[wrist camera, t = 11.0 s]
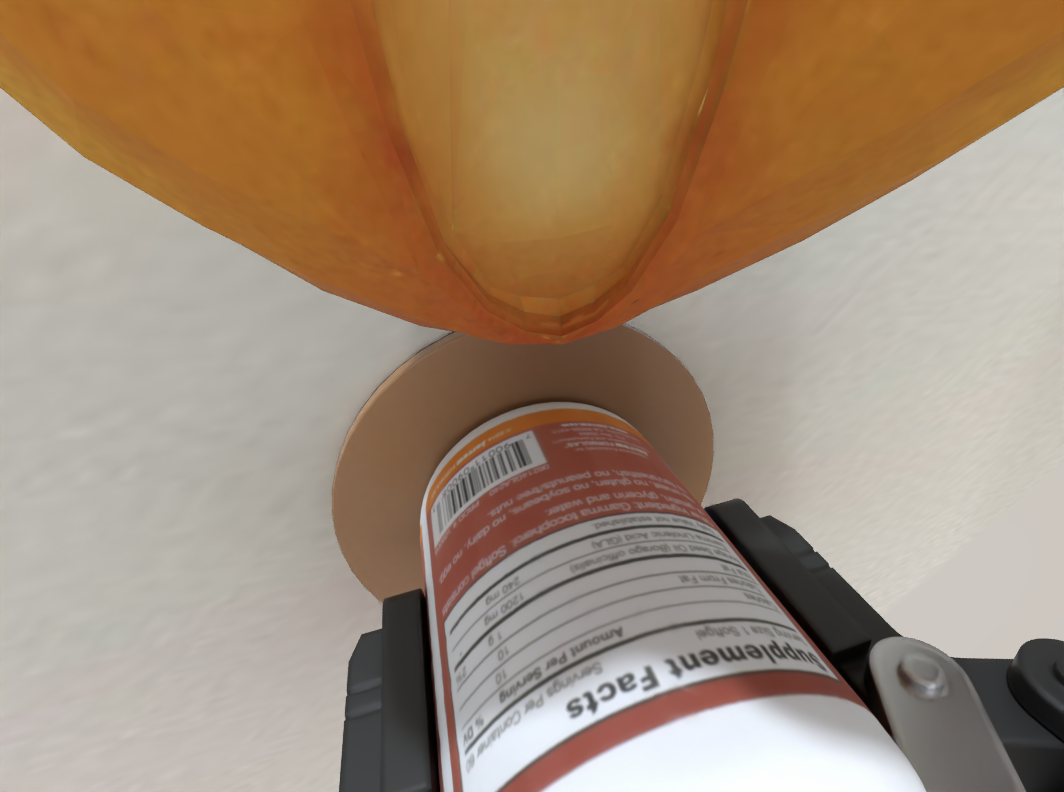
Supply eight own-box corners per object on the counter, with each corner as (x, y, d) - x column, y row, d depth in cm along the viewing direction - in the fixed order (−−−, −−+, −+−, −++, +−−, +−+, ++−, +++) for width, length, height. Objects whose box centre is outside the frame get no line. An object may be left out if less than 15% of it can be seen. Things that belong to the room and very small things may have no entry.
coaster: (395, 662, 15) (395, 674, 15) (266, 365, 10) (261, 373, 10) (700, 569, 17) (707, 578, 16) (714, 269, 12) (724, 273, 12)
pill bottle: (608, 586, 15) (960, 1325, 6) (400, 586, 13) (427, 1699, 4) (685, 406, 13) (1495, 1182, 3) (443, 374, 11) (796, 1999, 1)
